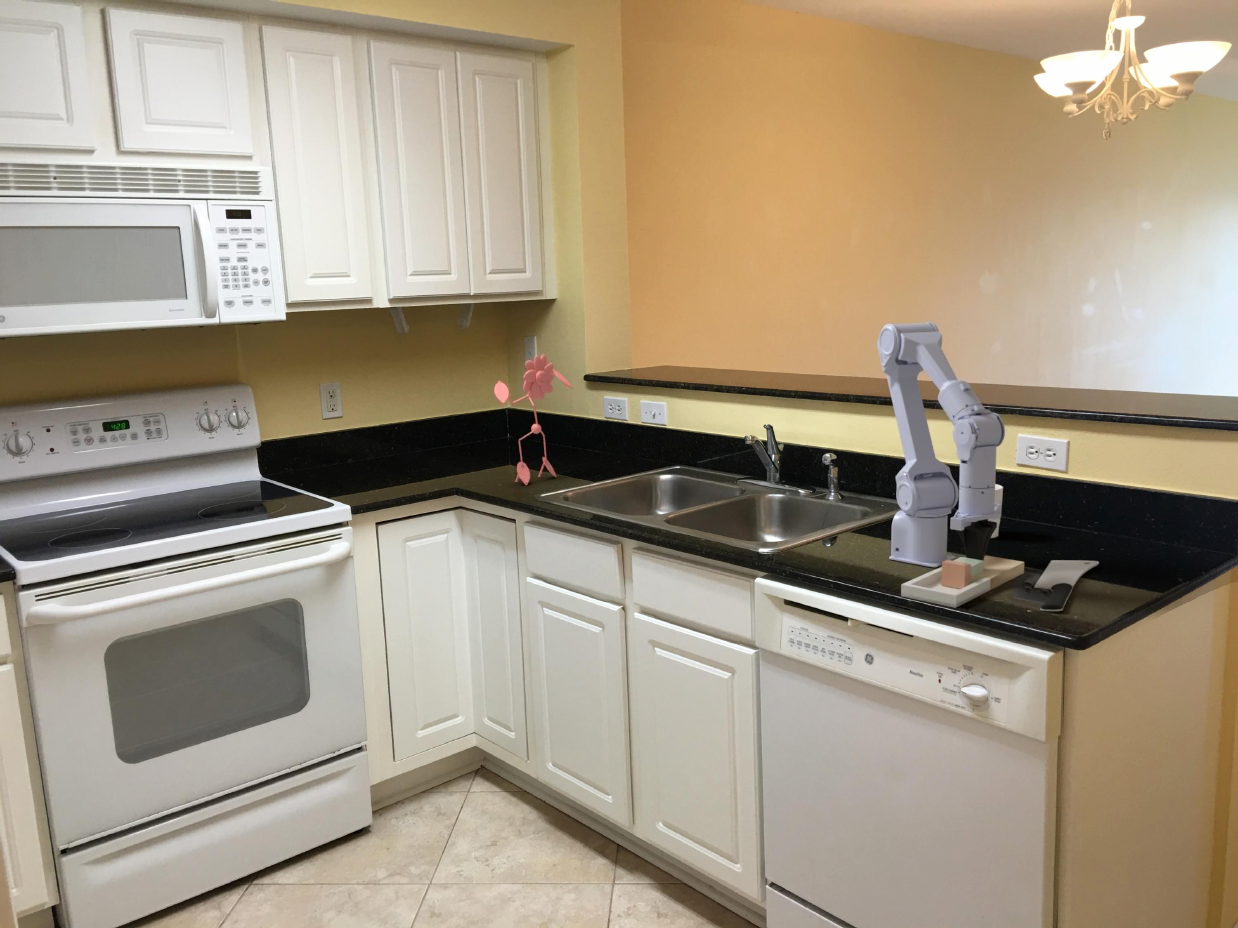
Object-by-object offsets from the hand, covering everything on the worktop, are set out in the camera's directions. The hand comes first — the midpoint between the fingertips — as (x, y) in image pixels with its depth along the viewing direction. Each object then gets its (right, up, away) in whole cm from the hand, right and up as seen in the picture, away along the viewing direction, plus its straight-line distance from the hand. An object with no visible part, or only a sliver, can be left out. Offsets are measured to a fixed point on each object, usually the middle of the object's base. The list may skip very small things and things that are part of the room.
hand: (974, 563), depth 170 cm
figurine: (-81, +12, +103) cm, 131 cm away
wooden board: (+2, -3, +3) cm, 4 cm away
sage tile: (-2, -1, -2) cm, 3 cm away
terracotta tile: (-4, -1, -4) cm, 6 cm away
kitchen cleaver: (+12, -4, -3) cm, 13 cm away
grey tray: (-7, -4, -6) cm, 10 cm away
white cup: (+12, +2, +31) cm, 33 cm away
